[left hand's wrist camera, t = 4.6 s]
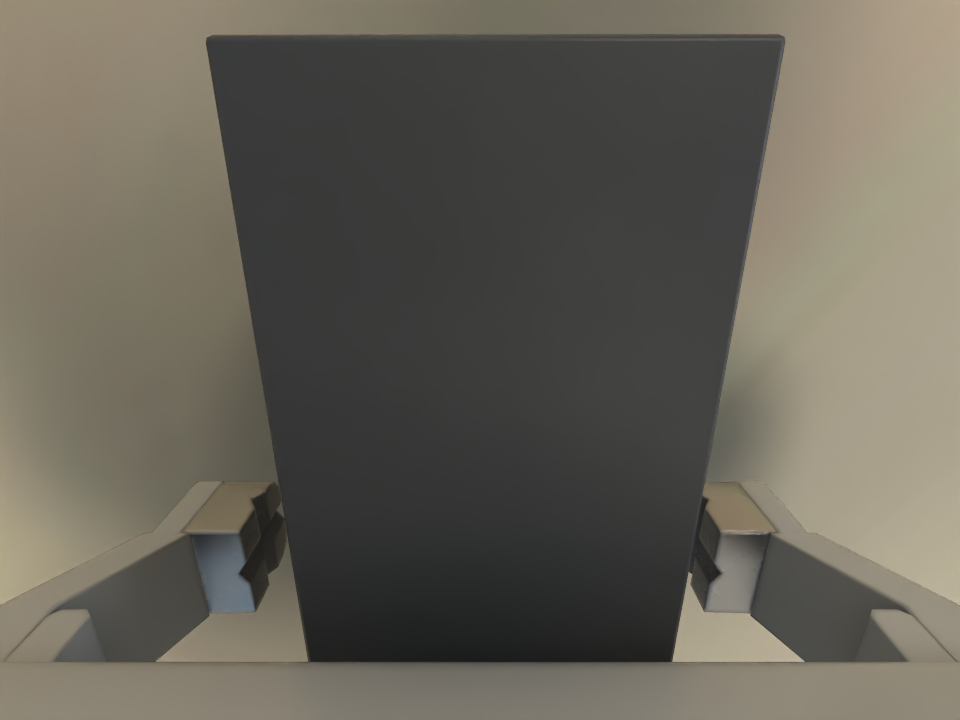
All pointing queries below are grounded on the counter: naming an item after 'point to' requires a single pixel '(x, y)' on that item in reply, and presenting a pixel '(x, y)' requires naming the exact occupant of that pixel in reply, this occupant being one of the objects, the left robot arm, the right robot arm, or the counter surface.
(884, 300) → the counter surface
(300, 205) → the bar
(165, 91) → the counter surface
